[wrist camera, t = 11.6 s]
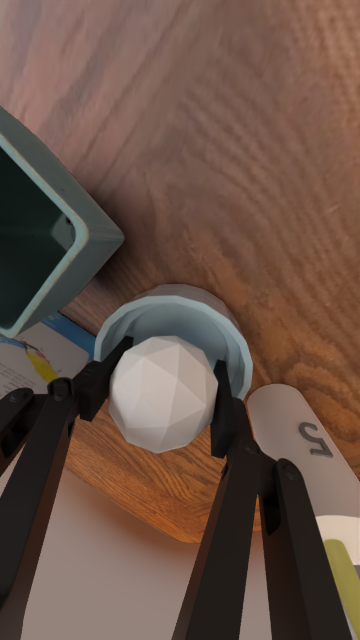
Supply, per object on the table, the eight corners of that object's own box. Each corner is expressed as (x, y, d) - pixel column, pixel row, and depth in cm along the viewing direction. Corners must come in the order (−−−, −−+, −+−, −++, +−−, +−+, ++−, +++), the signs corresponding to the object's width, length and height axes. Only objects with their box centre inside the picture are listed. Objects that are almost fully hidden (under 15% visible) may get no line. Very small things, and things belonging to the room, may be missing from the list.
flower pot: (95, 301, 19) (8, 344, 10) (25, 233, 17) (-147, 219, 9) (151, 240, 16) (92, 232, 7) (74, 149, 14) (-118, 6, 6)
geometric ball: (163, 330, 19) (122, 304, 11) (234, 369, 16) (243, 370, 8) (126, 395, 18) (54, 415, 10) (195, 448, 15) (165, 527, 8)
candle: (312, 386, 19) (597, 748, 5) (295, 427, 22) (456, 747, 8) (252, 378, 20) (364, 683, 6) (242, 419, 22) (303, 701, 8)
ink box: (39, 298, 19) (-165, 360, 9) (105, 342, 20) (-5, 445, 10) (20, 349, 23) (-145, 440, 12) (78, 384, 24) (-26, 497, 13)
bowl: (98, 307, 19) (64, 327, 14) (218, 261, 16) (224, 267, 11) (149, 399, 23) (136, 436, 18) (253, 377, 20) (268, 417, 15)
